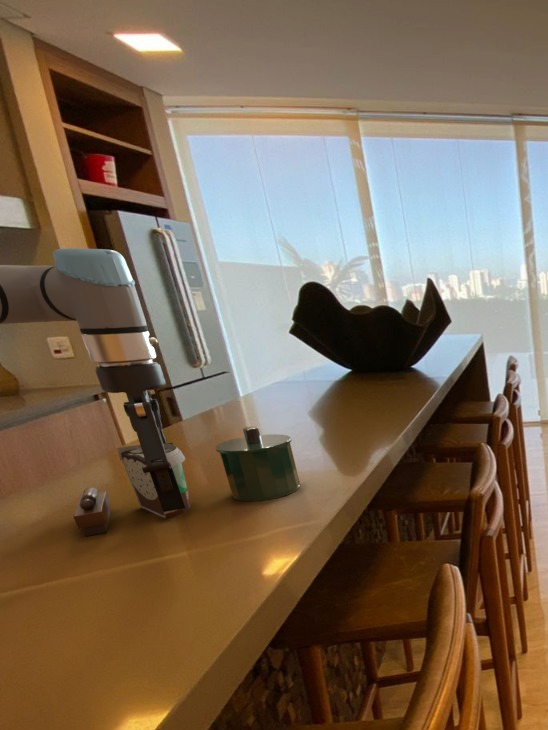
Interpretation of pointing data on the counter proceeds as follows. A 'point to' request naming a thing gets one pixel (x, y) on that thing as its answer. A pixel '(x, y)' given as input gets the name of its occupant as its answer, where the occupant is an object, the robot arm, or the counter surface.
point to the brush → (93, 512)
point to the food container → (143, 481)
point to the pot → (261, 474)
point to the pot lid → (253, 442)
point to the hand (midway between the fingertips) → (173, 498)
